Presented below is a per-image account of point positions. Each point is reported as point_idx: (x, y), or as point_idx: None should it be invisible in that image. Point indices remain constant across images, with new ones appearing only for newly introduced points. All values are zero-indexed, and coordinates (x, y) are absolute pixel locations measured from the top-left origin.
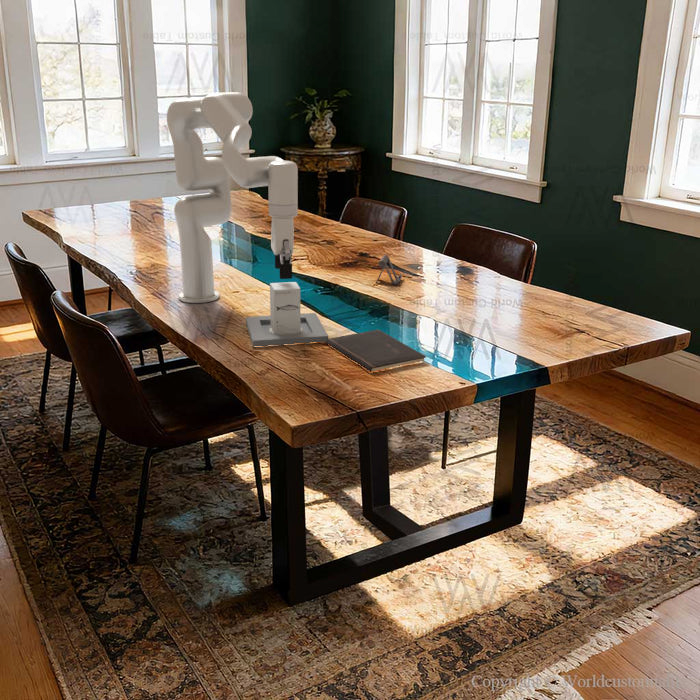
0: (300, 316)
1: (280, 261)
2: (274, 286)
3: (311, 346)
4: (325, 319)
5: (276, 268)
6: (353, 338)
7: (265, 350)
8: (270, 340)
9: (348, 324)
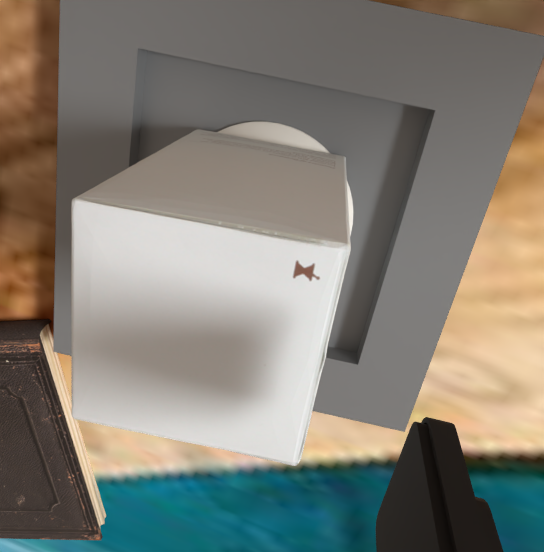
0: (386, 350)
1: (403, 546)
2: (187, 242)
3: (44, 253)
4: (382, 445)
5: (420, 424)
6: (17, 426)
7: (31, 11)
8: (62, 59)
9: (274, 491)
